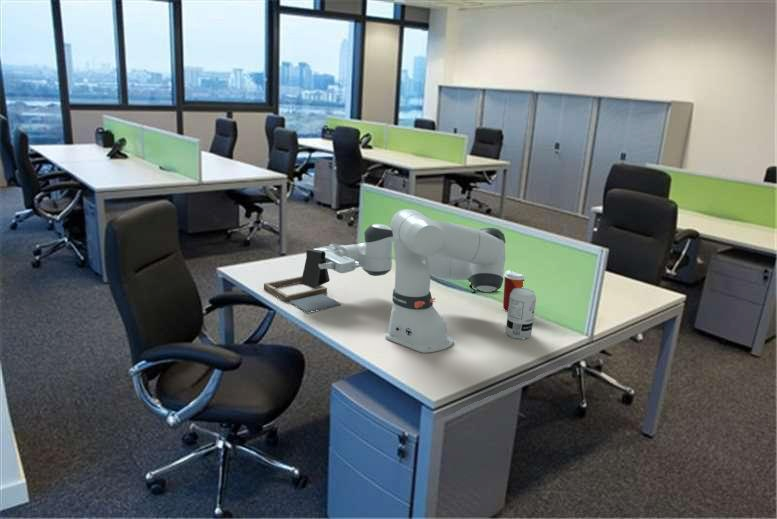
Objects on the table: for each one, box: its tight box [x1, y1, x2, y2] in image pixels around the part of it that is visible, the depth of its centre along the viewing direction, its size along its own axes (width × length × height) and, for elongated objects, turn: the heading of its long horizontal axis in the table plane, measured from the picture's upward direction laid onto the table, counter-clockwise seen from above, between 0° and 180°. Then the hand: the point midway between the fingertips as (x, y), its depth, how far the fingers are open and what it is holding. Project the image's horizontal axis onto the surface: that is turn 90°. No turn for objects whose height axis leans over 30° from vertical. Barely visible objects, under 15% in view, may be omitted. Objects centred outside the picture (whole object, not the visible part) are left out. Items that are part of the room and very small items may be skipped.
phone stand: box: [300, 248, 331, 289], centre depth 206 cm, size 9×6×12 cm, turn 151°
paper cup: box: [502, 269, 526, 312], centre depth 212 cm, size 8×8×14 cm
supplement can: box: [505, 287, 537, 340], centre depth 191 cm, size 8×8×15 cm
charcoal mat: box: [288, 294, 342, 314], centre depth 210 cm, size 12×14×1 cm
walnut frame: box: [263, 275, 328, 303], centre depth 221 cm, size 16×17×2 cm
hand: (313, 263), depth 205 cm, fingers closed on phone stand, 6 cm apart
